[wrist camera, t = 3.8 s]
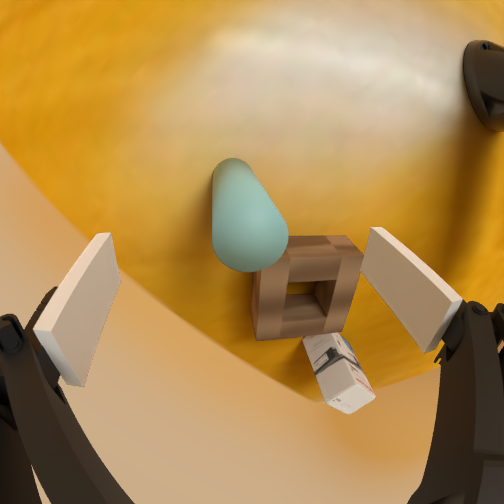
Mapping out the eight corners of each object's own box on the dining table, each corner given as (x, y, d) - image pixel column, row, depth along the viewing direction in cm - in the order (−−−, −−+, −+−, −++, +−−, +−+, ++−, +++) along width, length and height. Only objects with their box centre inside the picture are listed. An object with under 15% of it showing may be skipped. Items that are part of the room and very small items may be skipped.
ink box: (350, 343, 42) (378, 398, 31) (326, 359, 43) (349, 415, 32) (327, 320, 38) (357, 384, 28) (300, 339, 39) (323, 404, 29)
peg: (212, 158, 25) (211, 203, 13) (253, 158, 26) (292, 203, 13) (212, 197, 27) (213, 273, 15) (251, 196, 28) (284, 270, 15)
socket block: (254, 236, 30) (262, 259, 25) (345, 235, 31) (364, 256, 27) (250, 313, 35) (256, 341, 31) (328, 307, 36) (341, 331, 32)
